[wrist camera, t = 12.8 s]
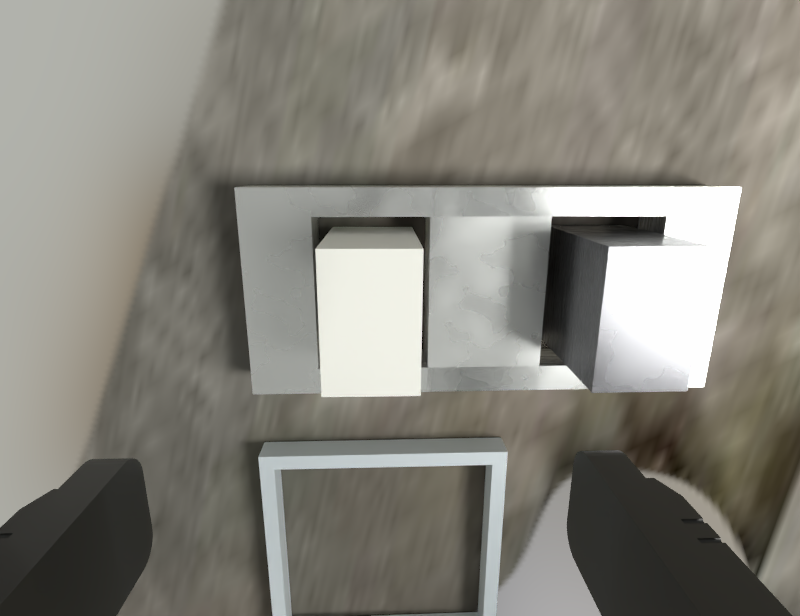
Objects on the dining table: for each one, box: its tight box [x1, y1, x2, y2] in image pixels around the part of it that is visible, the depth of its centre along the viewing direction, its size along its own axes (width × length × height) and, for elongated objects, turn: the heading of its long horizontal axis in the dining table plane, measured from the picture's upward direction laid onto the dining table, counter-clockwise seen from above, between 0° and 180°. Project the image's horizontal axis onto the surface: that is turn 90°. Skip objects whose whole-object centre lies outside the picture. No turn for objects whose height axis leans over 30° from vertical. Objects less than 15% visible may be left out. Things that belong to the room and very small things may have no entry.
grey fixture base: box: [234, 185, 742, 394], centre depth 22 cm, size 23×10×7 cm, turn 90°
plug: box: [315, 227, 424, 397], centre depth 22 cm, size 4×6×7 cm, turn 0°
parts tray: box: [258, 437, 508, 616], centre depth 29 cm, size 14×14×2 cm
